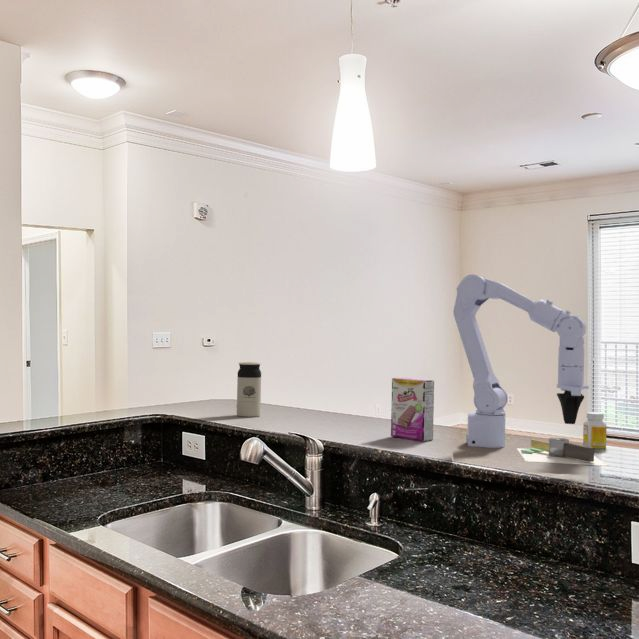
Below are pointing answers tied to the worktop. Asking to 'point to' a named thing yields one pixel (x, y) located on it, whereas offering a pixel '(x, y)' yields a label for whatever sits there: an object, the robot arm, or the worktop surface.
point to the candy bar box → (412, 408)
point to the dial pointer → (565, 449)
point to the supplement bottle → (594, 431)
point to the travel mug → (249, 389)
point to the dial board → (553, 457)
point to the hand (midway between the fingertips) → (569, 423)
